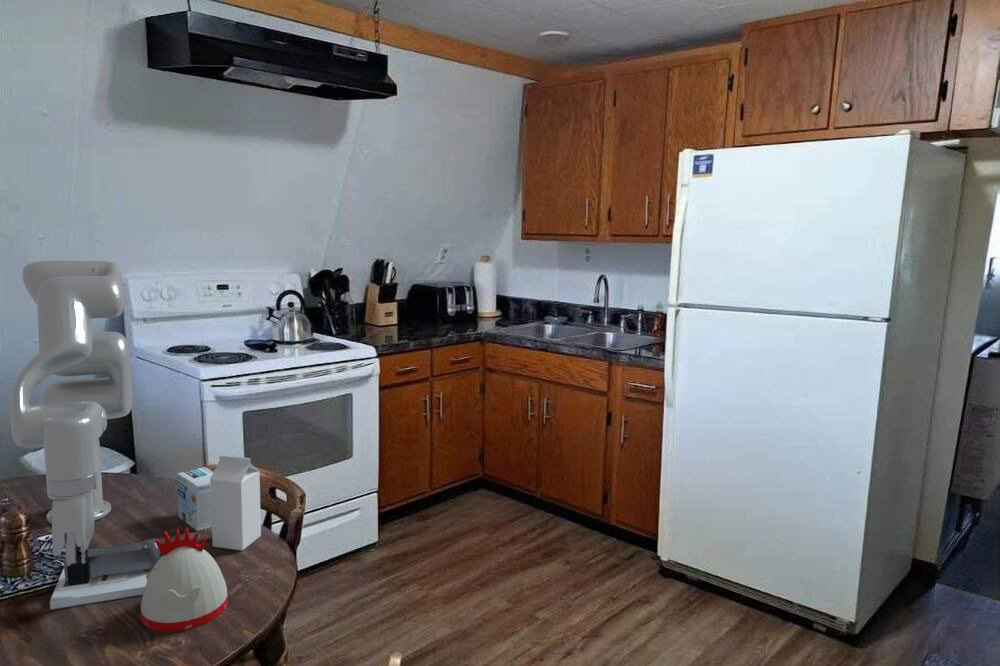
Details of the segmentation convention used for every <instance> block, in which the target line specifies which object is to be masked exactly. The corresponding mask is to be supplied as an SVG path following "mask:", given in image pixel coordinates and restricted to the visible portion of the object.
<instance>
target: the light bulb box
mask: <svg viewBox="0 0 1000 666" xmlns="http://www.w3.org/2000/svg"><path fill="white" fill-rule="evenodd" d="M213 472H214V471H212V470H211V469H209V468H208V467H206V466H203V467H199V468H196V469H191V470H187V471H182V472H179V473H176V478H177V479H176V480H177V506H178V508H177V509H178V518H179V519H180V520H182V521H183V522H184V523H186V524H187V525H189V527H191V528H192V529H193V528H194V530H195V531H196V530H197V531H196V532H200V531H199V530H201V531H204V530H207V528H208V529H211V528H212V517H211V489H210V478H211V476H212V474H213ZM210 527H211V528H210ZM203 529H204V530H203Z"/></svg>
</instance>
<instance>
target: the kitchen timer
mask: <svg viewBox="0 0 1000 666" xmlns="http://www.w3.org/2000/svg"><path fill="white" fill-rule="evenodd" d="M189 531H190V530H189V528H188V527H186V529H185V532H184V537H183V539H182V538H181V536H180V530H179V528H177V529H176V533H175V537H174V540H171V538H170V536H169V534H168V531H167V530H165V531H164V535H163V537H164V539H163V542H161V540H160V539H159V540H160V541H159V540H157V539H158V538H155V539H156V541H155V542H156V545H157V547H158V548H159V550H160V553H161V554H162V556H161V558H160V559H159V560H158V561H157V562H156V564H155V566H154V567H153V569H152V570H151V571H150V572H149V573H148V574H147V575H146V578H147V583H146V586H145V590H144V594H143V595H142V599H141V603H140V620H141V622H142V624H143V625H144V626H146V627H147V628H148V629H150V630H155V631H157V632H171V631H172V632H181V631H180V630H182V631H186V630H190V628H191V629H194V628H197V627H200V626H203V625H204V624H208V623H209V622H212V621H213V620H214V619H216V618H218V617H219V616H220V615H221V614H222V613H224V611H225V610H226V608H227V606H228V587H227V584H226V580H225V578H224V576H223V573H222V570H221V568H220V567H219V565H218V563H217V561H216V560H215V559H214V557H213V556H212V555H211V554H210V553H209V552H208V551H207V550H205V547H206V545H207V541H208V537H205V539H203V541H202V542H201V544H198V543H197V542H198V537H199V531H196V533H195V535H194V536H193V537H192V538H191V535H190V532H189ZM224 609H225V610H224ZM172 632H171V633H172Z"/></svg>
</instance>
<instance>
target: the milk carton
mask: <svg viewBox="0 0 1000 666" xmlns="http://www.w3.org/2000/svg"><path fill="white" fill-rule="evenodd" d="M218 458H219V461H218V463H217V465H216V466H215V469H214V470H213V471H212V472H213V474H212V476H211V478H210V489H211V517H212V527H211V540H212V542H211V543H212V544H211V545H212V547H214V548H219V549H220V548H222V549H228V550H235V551H244V550H246V549H247V548H248V547H249V546H250V545H252V544H253V543H254V542H256V540H258V539H259V538H260V537H262V524H261V523H262V522H261V519H262V518H261V484H260V483H261V480H260V479H261V477H260V475H261V474H260V470H259V469H258V468H257V467H255V466H254V464H252V463H251V458H249V457H238V456H231V455H230V456H229V455H221V454H220V455H219V457H218Z"/></svg>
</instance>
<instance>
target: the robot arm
mask: <svg viewBox="0 0 1000 666" xmlns="http://www.w3.org/2000/svg"><path fill="white" fill-rule="evenodd" d="M120 269H121V268H119V266H118V264H116V263H114V262H113V261H107V260H106V261H105V260H41V261H39V260H38V261H33V262H31V263H28V264H26V265H25V266H24V267H23V269H22V280H23V285H24V287H25V288H26V291H27V293H28V294H29V296H30V297H31V299H32V301H34V303H35V305H36V306H37V329H38V352H37V354H36V355H35V356H34V357H33V358H32V359H31V360H30V361H28V362H27V363H26V365H25V366H24V367H23V368H22V369H21V370H20V372H19V374H18V375H17V377H16V379H15V380H14V382H13V385H12V388H11V393H10V431H11V436H12V439H13V441H14V443H15V444H16V445H17V446H18V447H20V448H23V449H39V448H43V453H44V464H45V465H44V467H45V478H46V492H47V493H46V495H47V498H48V499H51V500H52V506H51V507H52V509H50V511H48V513H46V521H47V522H48V523H49V524H50V525H51V528H52V529H51V531H52V533H51V536H52V537H51V538H52V540H51V541H52V555H53V556H54V557H58V556H61V554H62V552H63V550H64V551H65V556H66V560H67V576H68V585H69V586H74V585H81V584H87V583H89V581H90V578H91V573H90V558H88V557H89V550H90V549H89V548H90V546H89V545H90V542H91V541H92V538H93V535H94V532H95V521H97V520H99V519H102V518H104V517H106V516H107V515H109V513H110V512H111V511H112V505H111V503H110V502H108V501H106V500H104V496H103V483H102V482H103V481H102V467H101V465H102V464H101V450H100V446H101V445H100V437H102V435H103V433H104V432H105V431H106V429H107V425H108V423H107V422H108V420H109V419H110V420H112V419H118V418H123V417H126V416H127V415H128V414H130V412H131V411H132V407H133V385H132V384H133V383H132V368H131V365H132V364H131V354H130V353H131V352H130V347H129V343H128V340H127V338H126V336H124V335H123V334H122V333H121V332H118V331H96V332H95V331H94V332H93V331H92V327H91V325H92V324H91V319H92V320H93V319H108V318H109V319H111V318H112V319H114V318H118V317H119V316H121V315H122V313H123V312H124V309H125V303H126V297H125V296H126V295H125V287H124V282H123V277H122V272H121V270H120ZM53 375H54V376H57V377H58V376H59V377H78V376H79V377H81V376H93V375H106V376H107V377H98V378H97V377H96V378H82V379H69V380H68V379H67V380H61V381H57V382H53V383H51V384H49V385H47V386H45V388H44V389H43V391H42V393H41V399H40V400H41V404H37V405H36V404H35V405H30V402H31V401H30V399H31V394H32V393H33V391H34V389H35V388H36V387H37V386H38V385H39V384H41V382H43V381H44V380H46V379H48V378H49V377H50V376H51V377H52V376H53Z"/></svg>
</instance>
